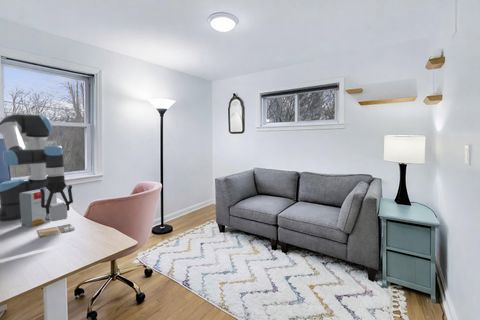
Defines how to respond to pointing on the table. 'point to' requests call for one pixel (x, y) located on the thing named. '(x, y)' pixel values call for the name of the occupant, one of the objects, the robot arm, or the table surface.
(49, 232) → the board
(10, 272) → the table surface
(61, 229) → the laminate strip
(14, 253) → the table surface
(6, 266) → the table surface
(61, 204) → the block
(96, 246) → the table surface
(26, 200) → the hard drive box
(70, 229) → the spacer wedges
